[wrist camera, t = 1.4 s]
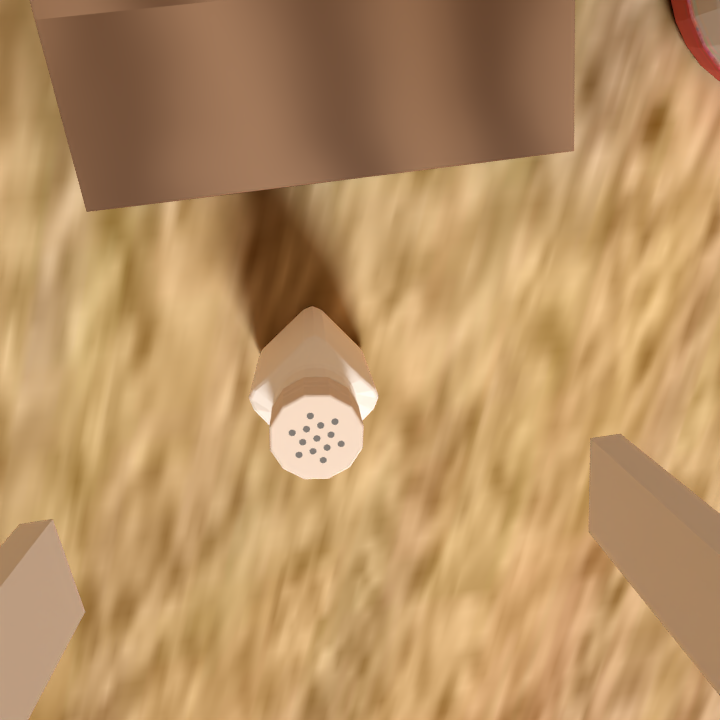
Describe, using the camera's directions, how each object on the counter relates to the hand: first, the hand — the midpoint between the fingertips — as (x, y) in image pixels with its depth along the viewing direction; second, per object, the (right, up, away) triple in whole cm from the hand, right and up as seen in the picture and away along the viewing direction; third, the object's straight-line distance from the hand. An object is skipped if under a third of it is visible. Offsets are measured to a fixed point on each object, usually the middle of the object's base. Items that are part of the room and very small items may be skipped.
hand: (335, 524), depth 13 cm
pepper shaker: (-2, +4, +14) cm, 15 cm away
